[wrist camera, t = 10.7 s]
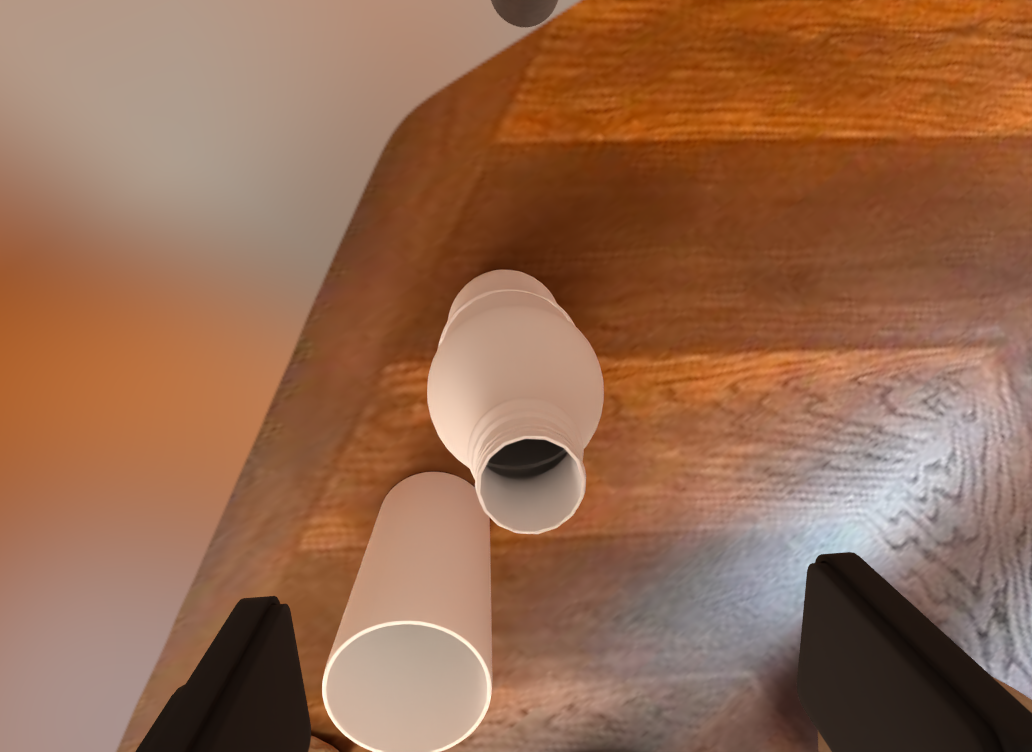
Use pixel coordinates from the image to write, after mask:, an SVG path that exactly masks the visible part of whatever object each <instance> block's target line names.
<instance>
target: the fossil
mask: <svg viewBox="0 0 1032 752" xmlns="http://www.w3.org/2000/svg"><path fill="white" fill-rule="evenodd" d="M308 752H339V751H338V750H337V749H336V748H334V747H333V746H332V745H330V744H328V743H325V742H324V741H322V740H320V739H318V738H316V737H314V736H311V741H310V747H309V751H308Z"/></svg>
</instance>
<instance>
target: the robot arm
mask: <svg viewBox="0 0 1032 752" xmlns="http://www.w3.org/2000/svg"><path fill="white" fill-rule="evenodd" d="M797 692H798V696H799V699H800V702H801V704H802V706H803V708H804V710H805V711H806V713H807V714H808V716H809V717H810V719H811V721H812V722H813V724H814V725H815V727H816V728H817V730H818V731H819V733H820V734H821V736H822V737H823V739H824V741H825V742H826V744H827V745H828V747H829V748H830V750H831V751H832V752H1032V713H1031V712H1030V711H1029V710H1028V709H1027V708H1026V707H1025V706H1024V705H1022V704H1021V703H1020V702H1019V701H1018V700H1017V699H1016V698H1015V697H1014V696H1013V695H1011V694H1010V693H1009V692H1008V691H1007V690H1006V689H1005V688H1004V687H1003V686H1002V685H1000V684H999V683H998V682H997V681H996V680H995V679H994V678H993V677H992V676H991V675H989V674H988V673H987V672H986V671H985V670H984V669H983V668H982V667H981V666H979V665H978V664H977V663H976V662H975V661H974V660H973V659H972V658H971V657H970V656H968V655H967V654H966V653H965V652H964V651H963V650H962V649H961V648H960V647H959V646H957V645H956V644H955V643H954V642H953V641H952V640H951V639H950V638H949V637H948V636H946V635H945V634H944V633H943V632H942V631H941V630H940V629H939V628H938V627H936V626H935V625H934V624H933V623H932V622H931V621H930V620H929V619H928V618H927V617H925V616H924V615H923V614H922V613H921V612H920V611H919V610H918V609H917V608H916V607H914V606H913V605H912V604H911V603H910V602H909V601H908V600H907V599H906V598H904V597H903V596H902V595H901V594H900V593H899V592H898V591H897V590H896V589H895V588H893V587H892V586H891V585H890V584H889V583H888V582H887V581H886V580H885V579H884V578H882V577H881V576H880V575H879V574H878V573H877V572H876V571H875V570H874V569H873V568H871V567H870V566H869V565H868V564H867V563H866V562H865V561H864V560H863V559H861V558H860V557H859V556H858V555H856V554H855V553H851V552H847V553H834V554H821V555H819V556H818V557H817V559H816V562H815V563H812V564H810V565H809V567H808V570H807V579H806V590H805V601H804V611H803V622H802V633H801V643H800V654H799V665H798V675H797ZM310 741H311V723H310V718H309V712H308V707H307V701H306V696H305V690H304V684H303V679H302V673H301V668H300V662H299V656H298V651H297V645H296V640H295V634H294V629H293V623H292V617H291V612H290V608H289V606H288V605H287V604H280V602H279V600H278V598H277V597H275V596H269V597H255V598H243V599H241V600H240V601H239V602H238V603H237V604H236V606H235V608H234V609H233V611H232V612H231V614H230V615H229V617H228V619H227V620H226V622H225V623H224V625H223V626H222V628H221V630H220V631H219V633H218V634H217V636H216V637H215V639H214V641H213V642H212V644H211V645H210V647H209V648H208V650H207V652H206V653H205V655H204V656H203V658H202V659H201V661H200V663H199V664H198V666H197V667H196V669H195V670H194V672H193V674H192V675H191V677H190V678H189V680H188V681H187V683H186V685H183V686H181V687H180V688H178V689H177V690H176V692H175V693H174V694H173V695H172V696H171V698H170V699H169V701H168V702H167V704H166V706H165V707H164V709H163V710H162V712H161V713H160V715H159V716H158V718H157V719H156V721H155V722H154V724H153V726H152V727H151V729H150V730H149V732H148V733H147V735H146V736H145V738H144V739H143V741H142V742H141V744H140V746H139V747H138V749H137V750H136V752H308V751H309V747H310Z"/></svg>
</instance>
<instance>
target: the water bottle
mask: <svg viewBox="0 0 1032 752" xmlns="http://www.w3.org/2000/svg"><path fill="white" fill-rule="evenodd" d="M427 397H428V407H429V411H430V416H431V419H432V422H433V424H434V426H435V429H436V431H437V433H438V436H439V437H440V439H441V440H442V442H443V443H444V445H445V446H446V448H447V449H448V450H449V451H450V452H451V453H452V454H453V455H454V456H455V457H456V458H457V459H458V460H459V461H460V462H462V463H463V464H464V465H466V466H467V467H469V468H470V470H471V473H472V475H473V477H474V479H475V488H476V492H477V495H478V499H479V502H480V504H481V505H482V508H483V510H484V512H485V513H486V514H487V515H488V516H489V517H490V518H491V519H492V520H493V521H494V522H495V523H496V524H497V525H498V526H500V527H503V528H505V529H508V530H510V531H512V532H515V533H521V534H539V533H542V532H545V531H549V530H552V529H555V528H557V527H559V526H560V525H561V524H563V523H564V522H565V521H566V520H568V519H569V518H570V517H571V516H573V515H574V513H575V511H576V509H577V508H578V507H579V505H580V503H581V501H582V499H583V496H584V493H585V488H586V472H585V468H584V465H583V463H582V461H583V453H584V451H583V449H584V448H585V447H586V446H587V444H588V443H589V441H590V439H591V438H592V436H593V434H594V432H595V431H596V429H597V426H598V423H599V420H600V417H601V413H602V407H603V401H604V382H603V377H602V372H601V368H600V364H599V362H598V359H597V356H596V354H595V352H594V350H593V348H592V347H591V345H590V343H589V341H588V340H587V339H586V338H585V336H584V335H583V334H582V333H581V332H580V330H579V329H578V328H576V326H575V324H574V323H573V321H572V320H571V318H570V317H569V315H568V314H567V313H566V312H565V311H564V310H563V309H562V308H561V307H560V306H559V305H558V304H557V302H556V300H555V299H554V297H553V295H552V294H551V292H550V291H549V290H548V289H547V288H546V287H545V286H544V285H543V284H542V283H541V282H539V281H538V280H537V279H535V278H534V277H532V276H530V275H527V274H525V273H523V272H520V271H514V270H494V271H490V272H487V273H484V274H482V275H480V276H478V277H476V278H474V279H473V280H472V281H470V282H469V283H468V284H466V285H465V287H464V288H463V289H462V290H461V291H460V292H459V293H458V295H457V296H456V298H455V300H454V302H453V304H452V306H451V309H450V312H449V316H448V322H447V323H446V325H445V327H444V330H443V332H442V335H441V338H440V341H439V345H438V350H437V352H436V354H435V356H434V358H433V360H432V364H431V368H430V371H429V375H428V387H427Z"/></svg>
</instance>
